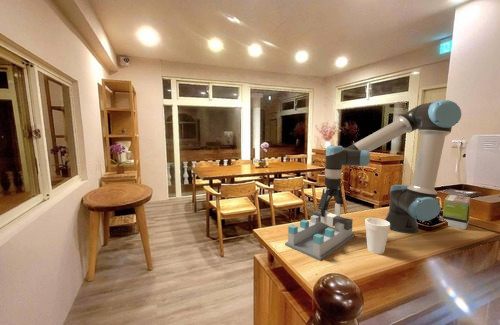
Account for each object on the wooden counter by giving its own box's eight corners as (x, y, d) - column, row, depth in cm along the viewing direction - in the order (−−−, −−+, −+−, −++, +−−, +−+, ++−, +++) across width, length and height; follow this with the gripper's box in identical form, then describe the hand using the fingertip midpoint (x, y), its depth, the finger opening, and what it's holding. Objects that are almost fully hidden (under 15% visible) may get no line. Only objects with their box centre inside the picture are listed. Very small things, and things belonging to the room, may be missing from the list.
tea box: (446, 217, 137) (448, 193, 135) (469, 222, 130) (472, 197, 128) (441, 224, 127) (444, 198, 125) (466, 230, 120) (469, 202, 118)
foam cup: (383, 246, 104) (385, 218, 102) (391, 257, 95) (393, 226, 93) (361, 244, 106) (362, 217, 104) (366, 254, 97) (368, 225, 95)
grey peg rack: (354, 236, 114) (355, 218, 113) (320, 260, 92) (320, 239, 91) (321, 225, 127) (322, 210, 126) (285, 245, 106) (285, 226, 104)
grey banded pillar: (352, 228, 109) (352, 219, 109) (347, 231, 106) (348, 221, 106) (316, 217, 123) (317, 209, 123) (312, 220, 120) (312, 211, 120)
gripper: (337, 173, 123) (335, 211, 126) (311, 179, 106) (309, 223, 109) (351, 175, 117) (349, 215, 120) (326, 182, 101) (324, 228, 104)
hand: (330, 219), depth 115 cm, fingers open, 13 cm apart
